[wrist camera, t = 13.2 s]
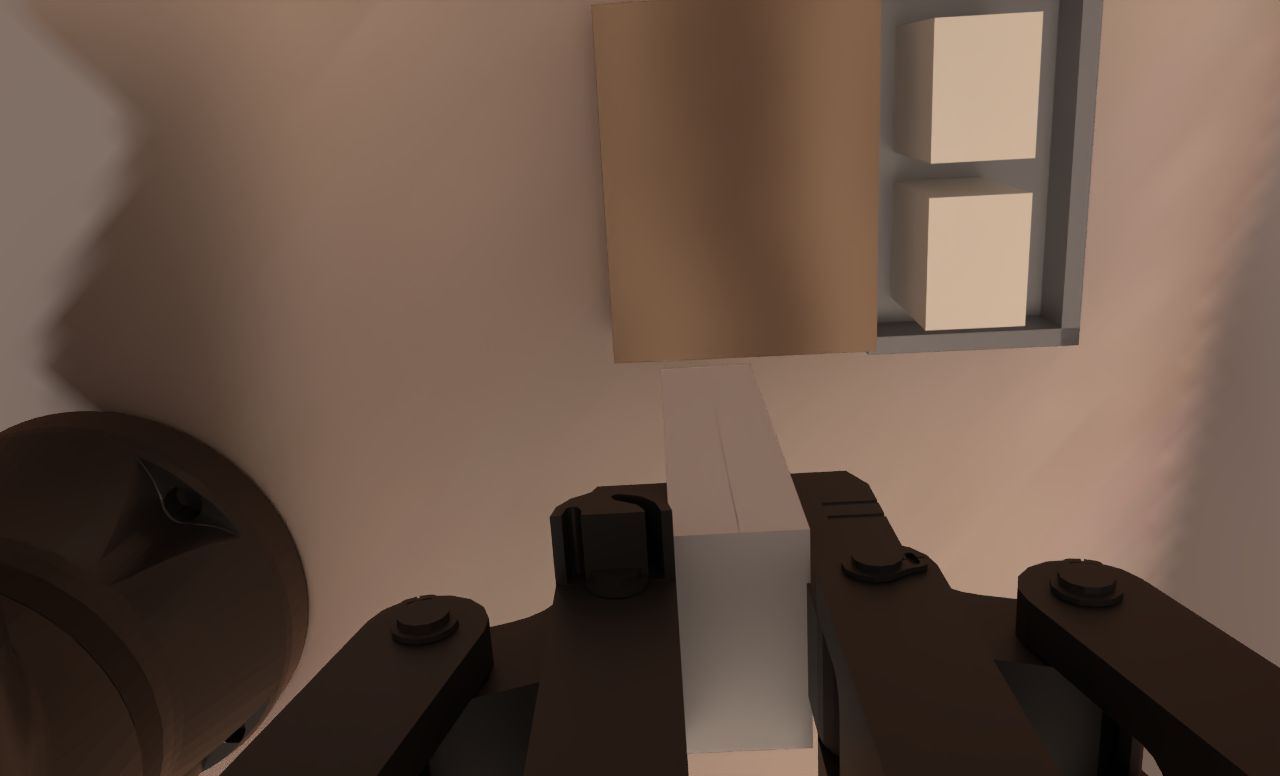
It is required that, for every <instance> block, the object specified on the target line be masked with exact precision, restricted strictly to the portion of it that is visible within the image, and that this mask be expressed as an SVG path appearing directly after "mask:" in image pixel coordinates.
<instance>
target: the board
mask: <svg viewBox="0 0 1280 776" xmlns="http://www.w3.org/2000/svg"><path fill="white" fill-rule="evenodd" d="M592 20H593V36H594V52H595V67H596V83H597V98H598V114H599V130H600V145H601V161H602V176H603V192H604V208H605V223H606V239H607V255H608V270H609V286H610V301H611V317H612V333H613V348H614V363H631V362H653V361H674V360H696V359H718V358H739V357H761V356H782V355H804V354H825V353H847V352H868V351H877V288H878V212H879V136H880V60H881V0H660V1H643V2H627V3H610V4H593V5H592Z"/></svg>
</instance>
